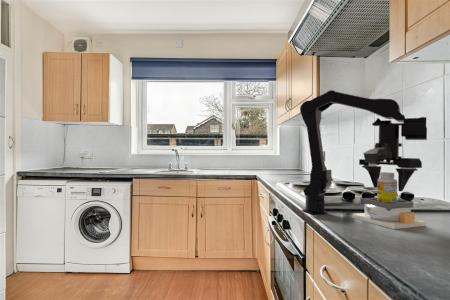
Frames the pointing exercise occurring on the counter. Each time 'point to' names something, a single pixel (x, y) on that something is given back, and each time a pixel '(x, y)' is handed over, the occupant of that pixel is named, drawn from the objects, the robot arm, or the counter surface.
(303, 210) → the robot arm
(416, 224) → the mount plate
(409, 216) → the hollow square frame
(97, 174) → the counter surface
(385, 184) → the supplement bottle
